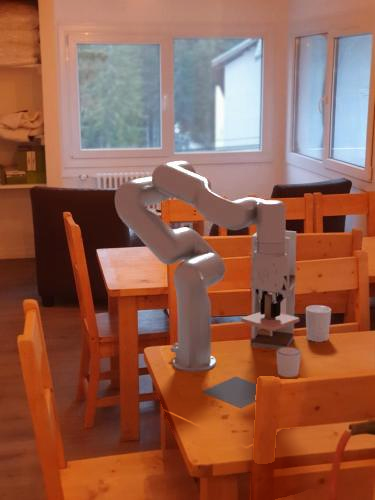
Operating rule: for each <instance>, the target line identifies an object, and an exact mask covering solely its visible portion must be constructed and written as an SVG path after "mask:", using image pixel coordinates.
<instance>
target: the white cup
mask: <svg viewBox="0 0 375 500" xmlns="http://www.w3.org/2000/svg"><path fill="white" fill-rule="evenodd" d="M331 316H332V308H330V307H329V306H326V305H321V304H320V305H319V304H313V305H308V306H307V307H305V325H306V326H305V328H306V339H307V341H310V340H311V341H310V342H313V341H315V342H314V343H324V342H323V341H325V342H327V341H328V340H329V336H330V334H329V333H330V327H331V318H332V317H331Z"/></svg>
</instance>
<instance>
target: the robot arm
mask: <svg viewBox="0 0 375 500" xmlns="http://www.w3.org/2000/svg"><path fill="white" fill-rule="evenodd" d="M171 198H174V199H176V200H178V201H179V202H183V203H185V204H186V205H189V206H191V207H193V208H195V210H196V212H197V213H198V214H199V215H200V216H201V217H202V218H203V219H205V220H206V221H208V222H209V223H212V224H214V225H217V226H219V227H221V228H223V229H226V230H230V231H239V230H242V229H244V228H247V227H251V226H255V225H256V232H257V241H255V245H256V246H257V251H255V252H254V255H253V260H252V259H251V260H252V267H251V270H250V288H251V287H252V288H253V289H254V290H256V293H257V294H258V298H259V300H260V314H262V315H263V314H265V294H266V293H269V292H270V293H272V299H273V303H271V317H272V318H274V317H277V316H280V311H281V302H282V301H283V299H284V298H285V297H288V296H290V295H291V292H290V289H289V265H288V258H287V254H285V237H286V231H287V229H286V226H287V225H286V222H287V221H286V219H287V213H286V212H287V208H286V204H285V202H283V201H281V200H275V199H267V200H266V199H263V198H262V199H261V198H259V197H258V198H257V197H251V196H247V197H242V198H239V199H235V200H229V199H227V198H225V197H222V196H220V195H218V194H216V193H214V192H212V183H211V181H210V180H209V179H208V178H206V177H204V176H201V175H199V174H197V172H196V169H195V168H194V166H193V165H192V164H191V163H189V162H188V161H184V160H175V161H170V162H169V161H168V162H163V163H162V164H159V165H158V166H156V167H155V168H154V170H153V171H152V174H151V175H149V176H144V177H138V178H131V179H130V180H127V181H125V182H123V183H122V184H120V185H119V186H118V187H117V189H116V191H115V195H114V205H115V210H116V213H117V215H118V218H120V220H121V221H122V223H124V224H125V226H126V227H128V229H130V230H131V232H133V233H134V234H135V235H136V236H137V237H138V238H139V239H140V240H141V242H142V243H143V244H144V245H145V246H146V247H147V248H148V249H149V251H150V252H151V253H152V254H153V255H154V256H155V257H156V258H157V259H158V260H159V262H161V263H163V264H165V265H173V264H174V265H175V264H176V263H177V264H178V263H180V264H178V265H177V266H176V268H175V270H174V272H173V284H174V288H175V294H176V306H177V309H176V310H177V311H176V312H177V342H175V343H173V346H171V347H170V351H171V352H172V353H175V357H174V358H173V359H172V365H173V367H174V368H175V369H177V370H179V371H182V372H189V373H191V372H193V373H196V372H197V373H198V372H205V371H208V370H212V369H213V368H215V367H216V365H217V360H216V358H215V357H214V356H213V355H212V352H211V351H212V348H211V347H212V346H211V345H212V344H211V343H212V341H211V340H212V339H211V338H212V334H211V333H212V332H211V331H212V329H211V326H212V320H211V319H212V314H211V311H212V310H211V301H210V297H209V295H208V290H207V289H208V288H209V287H211V286H213V285H215V284H218V283H219V282H221V281H222V280H223V279H224V277H225V274H226V265H225V262H224V261H223V259H222V257H221V256H220V255H219V254H218V252H217V251H216V250H215V249H214V248H213V247H212V246H211V245H210V244H209V243H208V242H207V241H206V240H205V239H204V238H203V236H201V234H199V232H197V231H196V230H195V229H192V228H190V227H186V226H183V227H177V228H171V227H170V226H169V225H168V224H167V222H165V221H164V220H163V219H162V218H161V217H160V216H159V215H158V214H157V213H154V212H153V211H152V210H149V209H148V208H147V207H149V206H153V205H158V204H160V203H163V202H165V201H167V200H169V199H171ZM282 290H283V293H282ZM277 294H278V296H277Z"/></svg>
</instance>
